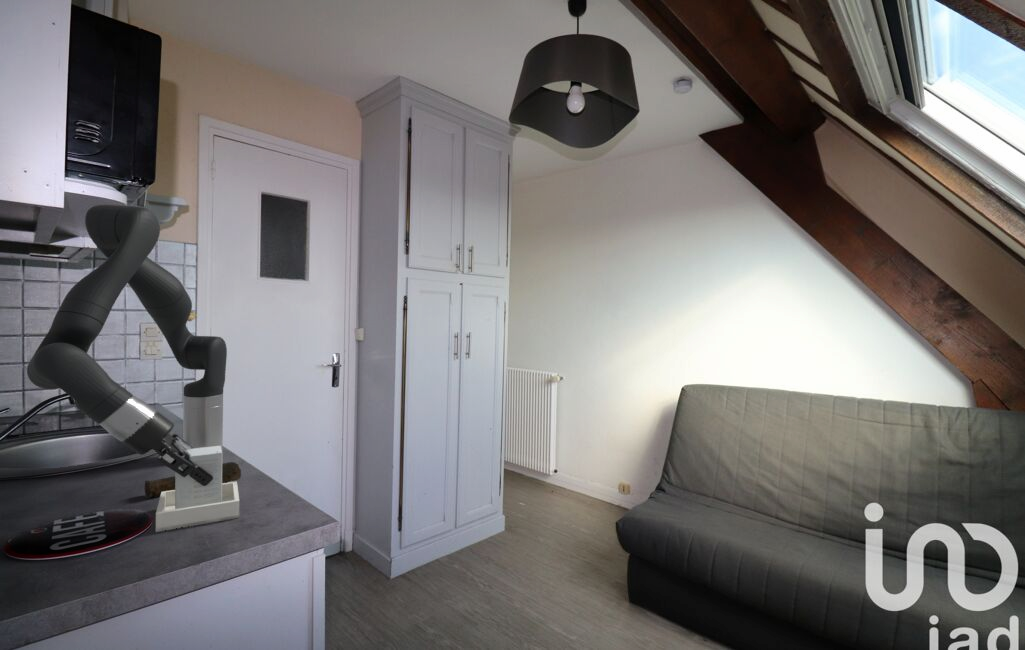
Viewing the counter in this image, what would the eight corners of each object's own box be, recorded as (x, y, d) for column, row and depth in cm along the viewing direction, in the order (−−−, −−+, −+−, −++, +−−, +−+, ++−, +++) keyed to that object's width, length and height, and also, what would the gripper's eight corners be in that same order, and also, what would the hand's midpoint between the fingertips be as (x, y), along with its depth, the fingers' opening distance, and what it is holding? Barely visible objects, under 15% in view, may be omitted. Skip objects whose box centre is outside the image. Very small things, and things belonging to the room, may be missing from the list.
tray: (161, 508, 101) (161, 491, 101) (236, 496, 108) (236, 481, 108) (155, 532, 91) (155, 513, 91) (239, 517, 98) (239, 500, 98)
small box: (220, 493, 104) (222, 444, 104) (222, 503, 99) (223, 452, 99) (175, 500, 100) (176, 449, 99) (174, 510, 95) (175, 457, 95)
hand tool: (146, 502, 104) (146, 480, 104) (143, 496, 107) (143, 475, 107) (243, 482, 118) (244, 463, 117) (238, 477, 121) (239, 459, 120)
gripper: (151, 417, 89) (225, 473, 95) (158, 403, 101) (224, 453, 108) (113, 450, 86) (192, 504, 93) (125, 431, 98) (195, 480, 105)
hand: (209, 476), depth 100 cm, fingers closed on small box, 5 cm apart
